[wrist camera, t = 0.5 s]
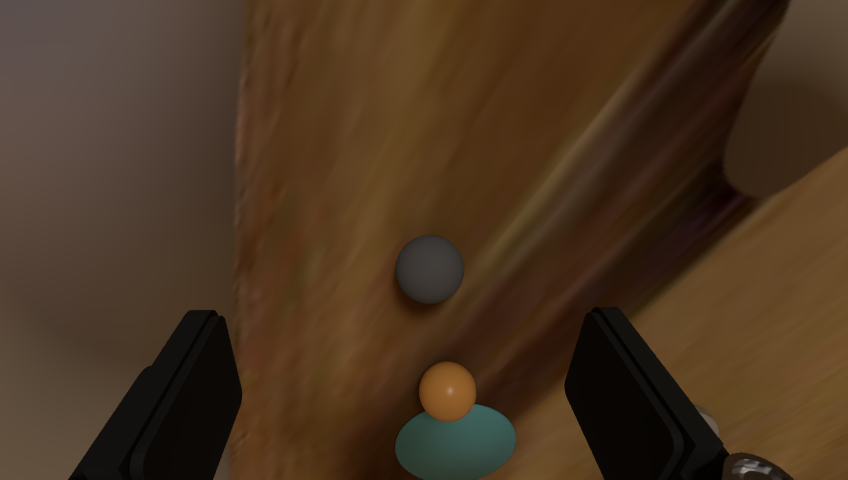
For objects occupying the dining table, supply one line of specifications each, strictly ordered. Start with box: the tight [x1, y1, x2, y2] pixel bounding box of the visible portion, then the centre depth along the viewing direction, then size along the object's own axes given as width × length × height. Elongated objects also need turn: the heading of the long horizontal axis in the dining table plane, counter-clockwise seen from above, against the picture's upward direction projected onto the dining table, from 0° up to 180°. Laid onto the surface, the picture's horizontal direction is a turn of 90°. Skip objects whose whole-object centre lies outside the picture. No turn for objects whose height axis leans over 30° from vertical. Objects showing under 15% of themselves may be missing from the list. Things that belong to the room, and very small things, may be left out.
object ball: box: [419, 361, 476, 422], centre depth 40 cm, size 6×6×6 cm
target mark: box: [395, 404, 516, 480], centre depth 48 cm, size 14×14×1 cm
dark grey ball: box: [396, 235, 464, 304], centre depth 33 cm, size 6×6×6 cm
